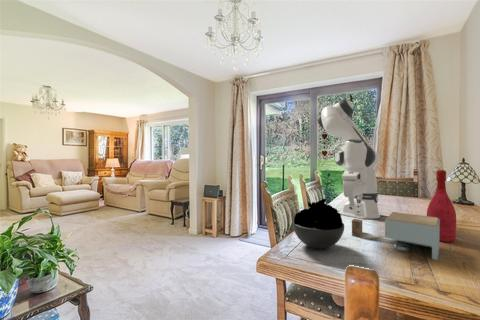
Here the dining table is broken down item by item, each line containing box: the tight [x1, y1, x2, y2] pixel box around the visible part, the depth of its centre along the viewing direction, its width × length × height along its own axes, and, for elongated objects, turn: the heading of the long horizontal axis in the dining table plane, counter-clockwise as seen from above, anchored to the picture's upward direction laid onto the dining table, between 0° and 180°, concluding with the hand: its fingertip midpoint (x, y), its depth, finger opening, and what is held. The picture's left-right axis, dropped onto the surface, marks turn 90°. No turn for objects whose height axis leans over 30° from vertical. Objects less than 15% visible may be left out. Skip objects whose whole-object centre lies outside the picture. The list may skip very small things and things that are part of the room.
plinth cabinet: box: [384, 211, 440, 261], centre depth 94 cm, size 16×14×12 cm
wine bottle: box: [426, 169, 457, 243], centre depth 104 cm, size 10×10×30 cm
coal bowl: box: [292, 198, 345, 250], centre depth 97 cm, size 20×20×19 cm
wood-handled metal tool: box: [351, 218, 399, 245], centre depth 106 cm, size 18×4×7 cm, turn 48°
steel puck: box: [393, 242, 410, 253], centre depth 94 cm, size 5×5×2 cm
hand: (355, 204), depth 110 cm, fingers open, 8 cm apart
